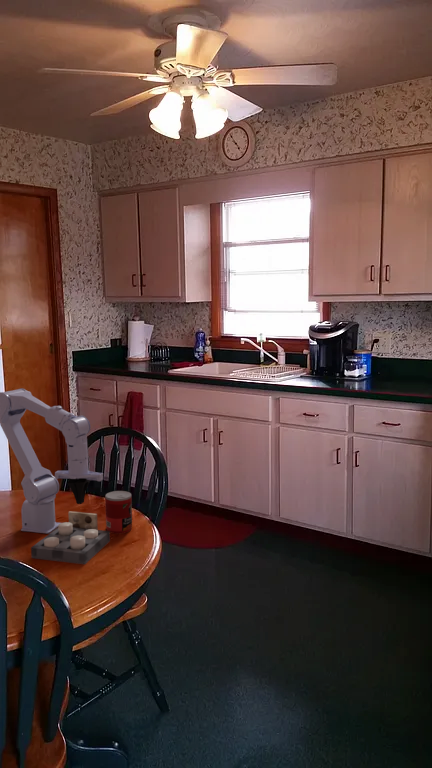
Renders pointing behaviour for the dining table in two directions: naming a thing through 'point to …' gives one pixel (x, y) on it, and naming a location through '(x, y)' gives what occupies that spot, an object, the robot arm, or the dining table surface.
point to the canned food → (118, 512)
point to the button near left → (51, 542)
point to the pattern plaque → (83, 520)
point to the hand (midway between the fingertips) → (80, 503)
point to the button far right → (91, 533)
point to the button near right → (77, 542)
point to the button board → (64, 549)
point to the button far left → (65, 529)
